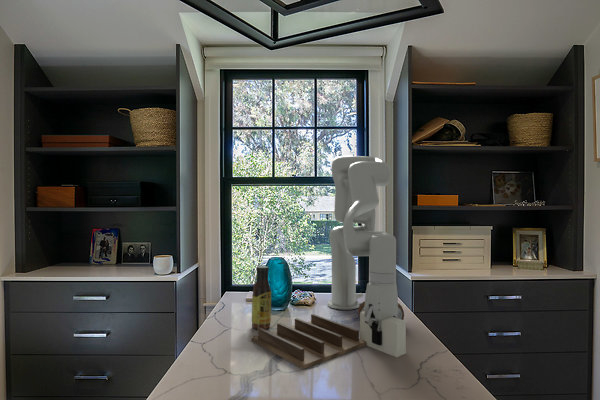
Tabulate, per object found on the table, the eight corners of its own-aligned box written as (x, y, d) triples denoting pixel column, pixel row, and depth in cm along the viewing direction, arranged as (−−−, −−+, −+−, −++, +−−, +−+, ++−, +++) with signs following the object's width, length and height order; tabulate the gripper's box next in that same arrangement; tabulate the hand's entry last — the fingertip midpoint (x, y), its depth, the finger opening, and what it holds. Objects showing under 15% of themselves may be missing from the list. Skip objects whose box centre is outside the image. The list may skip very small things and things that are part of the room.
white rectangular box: (368, 339, 113) (368, 309, 113) (405, 353, 103) (405, 320, 103) (359, 342, 110) (360, 312, 110) (396, 357, 100) (397, 323, 100)
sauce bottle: (261, 331, 119) (261, 269, 119) (247, 327, 122) (247, 267, 122) (275, 326, 124) (275, 266, 124) (261, 322, 128) (261, 264, 128)
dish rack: (311, 323, 127) (311, 311, 127) (366, 345, 108) (366, 331, 108) (251, 340, 111) (251, 327, 111) (303, 369, 93) (303, 353, 93)
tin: (403, 325, 126) (403, 300, 126) (404, 328, 123) (405, 302, 123) (358, 323, 128) (358, 298, 127) (358, 326, 124) (358, 301, 124)
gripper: (389, 272, 115) (389, 331, 115) (352, 279, 104) (352, 345, 104) (410, 276, 109) (410, 338, 109) (373, 284, 98) (373, 353, 98)
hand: (382, 341), depth 106 cm, fingers closed on white rectangular box, 4 cm apart
